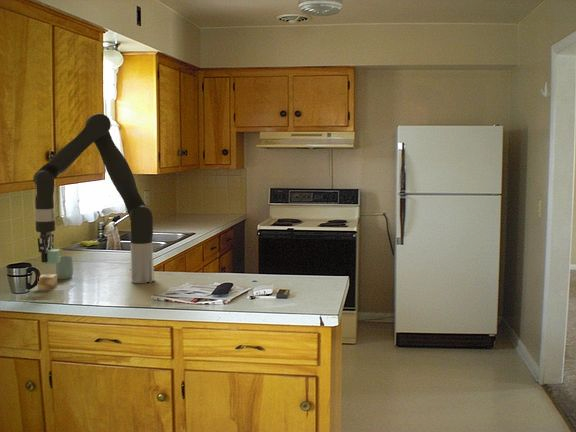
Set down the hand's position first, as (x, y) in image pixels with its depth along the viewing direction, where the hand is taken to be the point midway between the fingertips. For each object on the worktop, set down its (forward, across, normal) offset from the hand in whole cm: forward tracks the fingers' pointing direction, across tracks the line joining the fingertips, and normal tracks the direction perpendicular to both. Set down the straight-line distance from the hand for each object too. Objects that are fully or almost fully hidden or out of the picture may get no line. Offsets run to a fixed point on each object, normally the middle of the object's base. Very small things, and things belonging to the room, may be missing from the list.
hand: (46, 260), depth 275 cm
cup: (+12, +21, -1) cm, 24 cm away
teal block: (+1, 0, -2) cm, 2 cm away
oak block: (+11, 0, 0) cm, 11 cm away
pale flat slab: (+12, 0, -2) cm, 12 cm away
